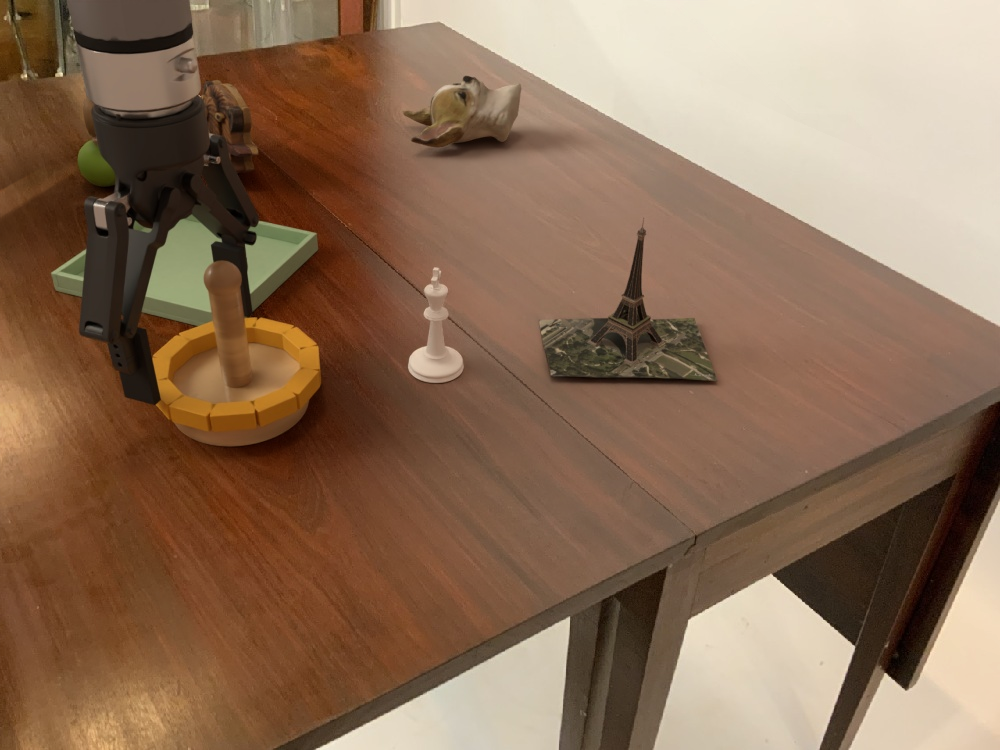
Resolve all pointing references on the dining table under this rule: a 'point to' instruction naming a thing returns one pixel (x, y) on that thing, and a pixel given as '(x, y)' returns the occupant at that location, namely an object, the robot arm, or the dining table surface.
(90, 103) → the snail figurine
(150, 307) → the tray
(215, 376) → the post
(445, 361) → the chess piece
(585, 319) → the eiffel tower figurine
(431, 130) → the ceramic sculpture
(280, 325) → the hoop
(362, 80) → the dining table surface
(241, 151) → the wooden carving
